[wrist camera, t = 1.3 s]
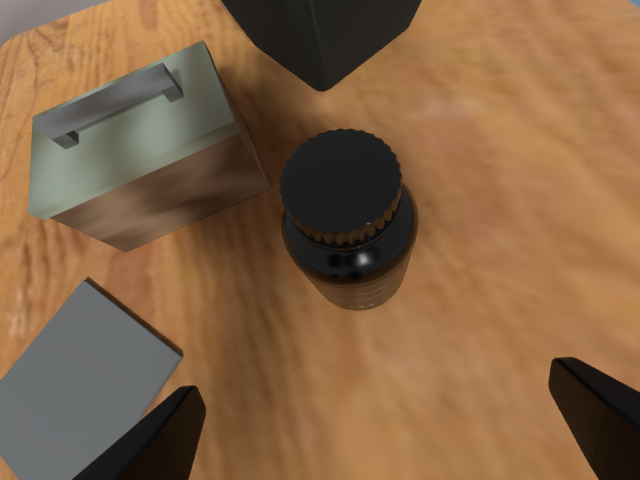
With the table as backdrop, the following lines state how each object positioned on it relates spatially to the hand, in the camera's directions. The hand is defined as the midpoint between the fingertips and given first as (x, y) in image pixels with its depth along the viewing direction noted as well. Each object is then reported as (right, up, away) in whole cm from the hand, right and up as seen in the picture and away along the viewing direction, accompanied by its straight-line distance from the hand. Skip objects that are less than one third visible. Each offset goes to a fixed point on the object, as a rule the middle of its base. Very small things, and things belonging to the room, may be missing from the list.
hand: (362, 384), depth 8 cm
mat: (-19, -7, +15) cm, 25 cm away
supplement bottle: (+2, +2, +15) cm, 15 cm away
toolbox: (-14, +9, +21) cm, 26 cm away
